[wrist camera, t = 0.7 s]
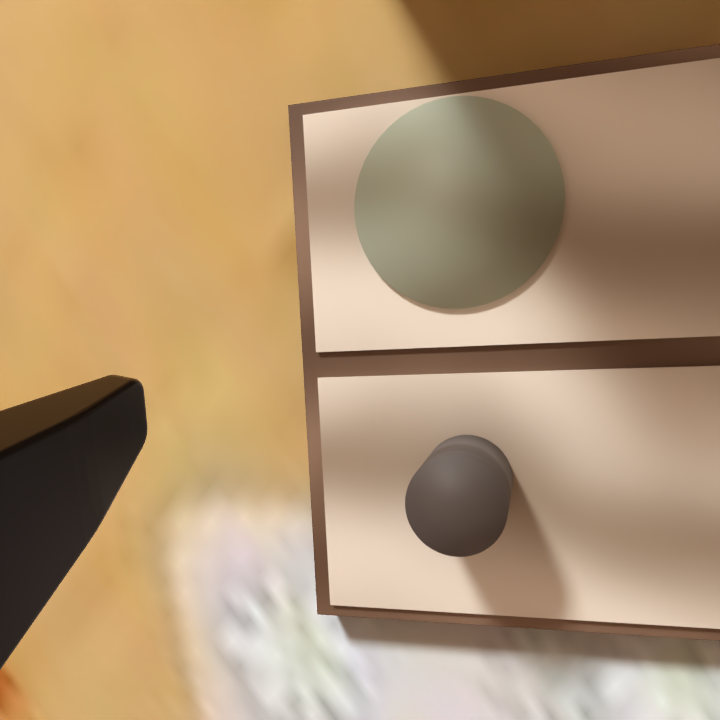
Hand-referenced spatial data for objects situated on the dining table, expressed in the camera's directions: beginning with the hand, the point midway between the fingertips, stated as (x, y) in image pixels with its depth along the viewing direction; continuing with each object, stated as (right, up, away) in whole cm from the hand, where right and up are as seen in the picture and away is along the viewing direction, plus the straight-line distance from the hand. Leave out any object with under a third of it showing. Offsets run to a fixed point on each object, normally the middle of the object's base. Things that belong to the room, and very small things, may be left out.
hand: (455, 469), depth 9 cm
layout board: (+4, +2, +12) cm, 12 cm away
